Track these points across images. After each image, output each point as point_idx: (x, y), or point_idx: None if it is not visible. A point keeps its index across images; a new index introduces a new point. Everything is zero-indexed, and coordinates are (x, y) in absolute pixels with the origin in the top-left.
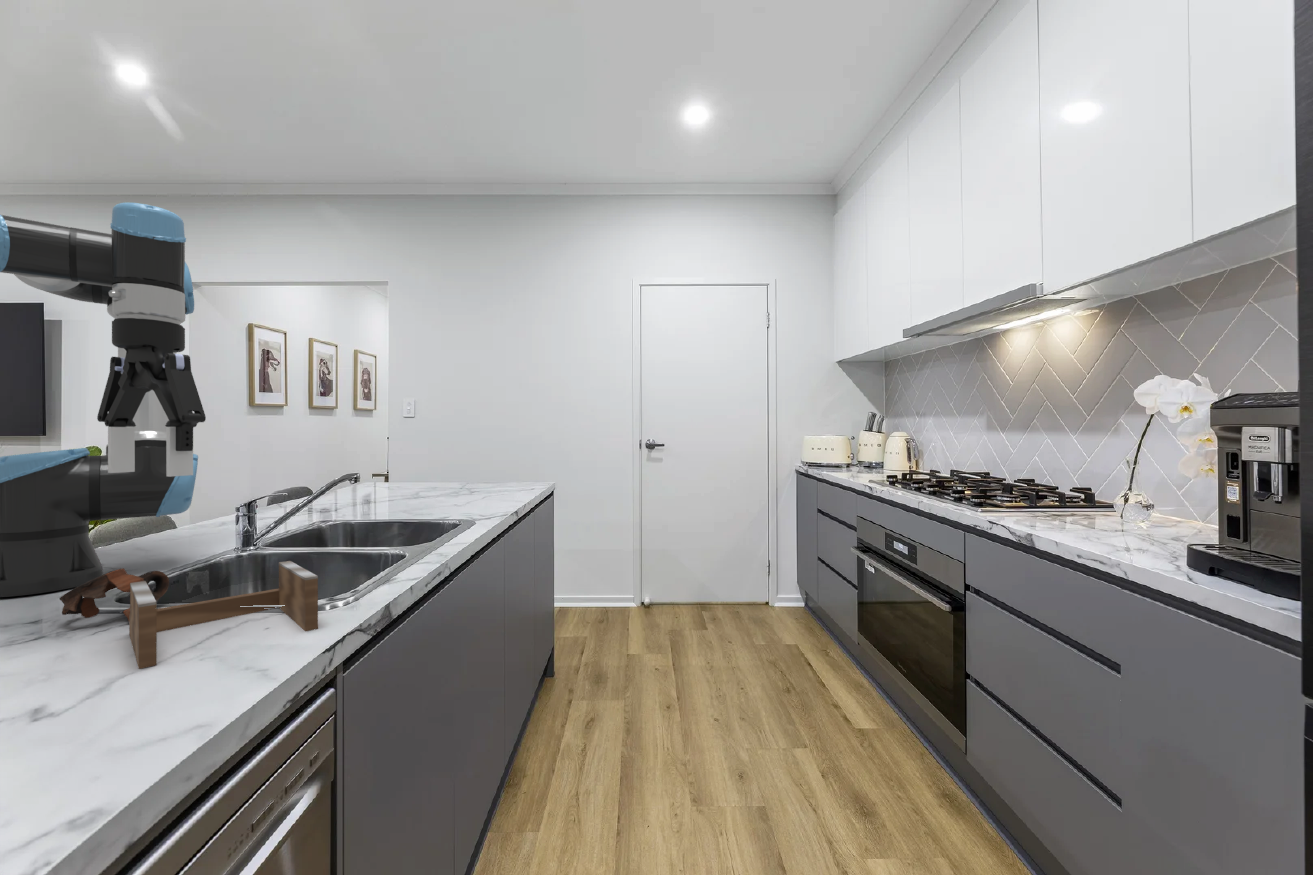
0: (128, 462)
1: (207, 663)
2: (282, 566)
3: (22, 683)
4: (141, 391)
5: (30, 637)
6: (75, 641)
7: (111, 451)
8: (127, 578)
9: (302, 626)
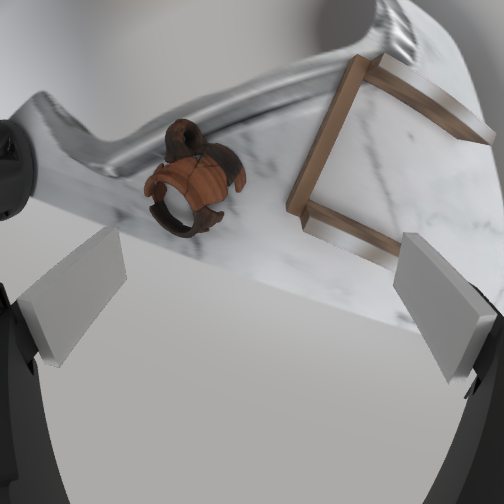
0: (106, 253)
1: (440, 228)
2: (398, 78)
3: (337, 302)
4: (38, 499)
5: (184, 242)
6: (247, 233)
7: (99, 312)
8: (207, 186)
9: (451, 133)
